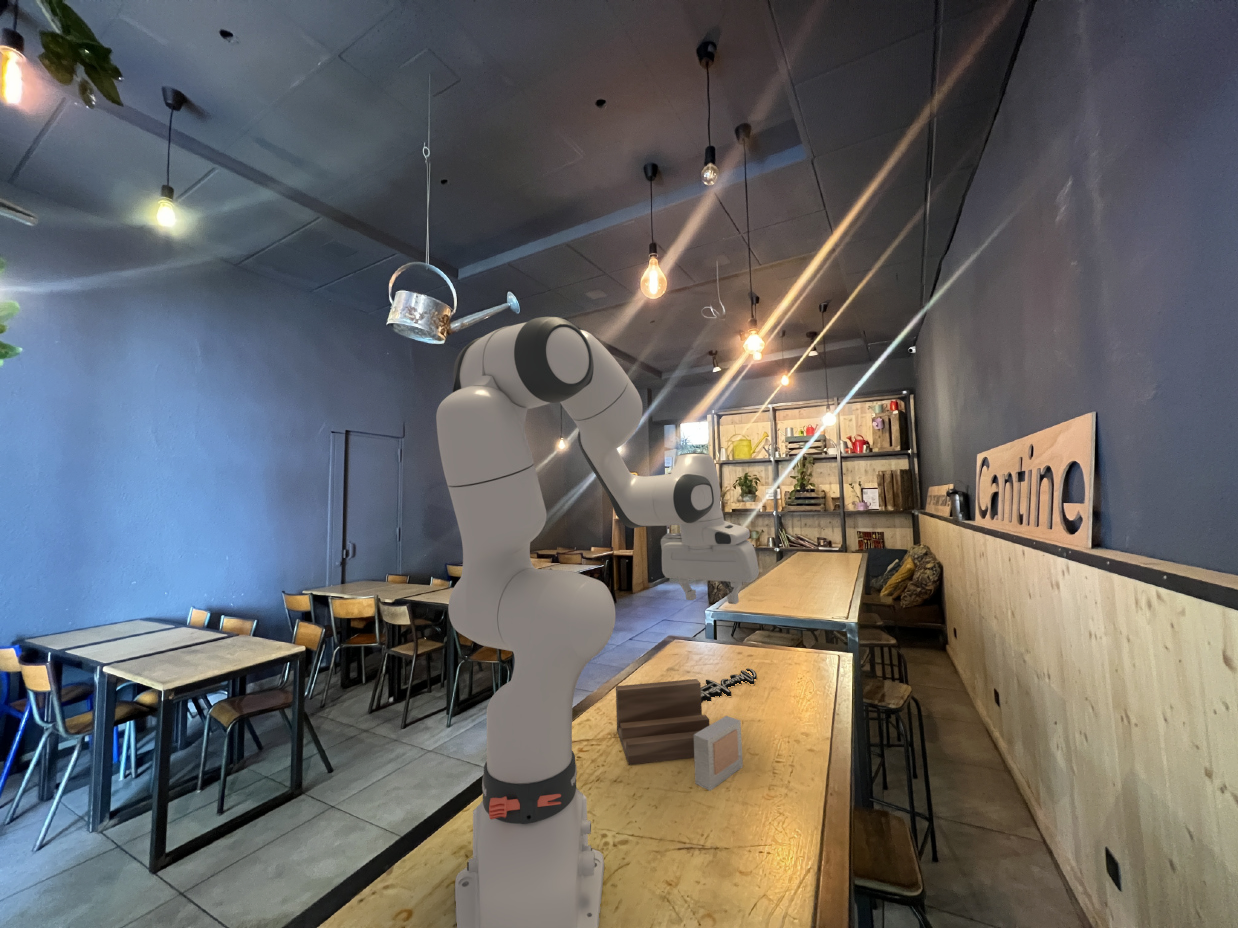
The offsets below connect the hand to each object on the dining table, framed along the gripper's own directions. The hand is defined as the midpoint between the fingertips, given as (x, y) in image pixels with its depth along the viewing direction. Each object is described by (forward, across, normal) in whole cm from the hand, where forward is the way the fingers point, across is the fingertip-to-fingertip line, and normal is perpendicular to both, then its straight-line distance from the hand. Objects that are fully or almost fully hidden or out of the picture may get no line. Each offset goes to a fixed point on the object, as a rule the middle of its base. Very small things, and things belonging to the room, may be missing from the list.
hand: (711, 601), depth 96 cm
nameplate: (+32, -13, +24) cm, 42 cm away
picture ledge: (+27, -10, -8) cm, 30 cm away
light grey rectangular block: (+26, +4, -13) cm, 30 cm away
